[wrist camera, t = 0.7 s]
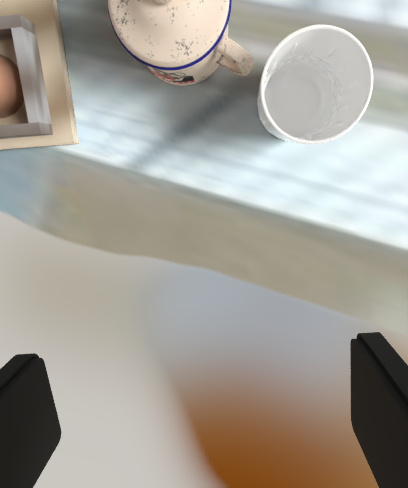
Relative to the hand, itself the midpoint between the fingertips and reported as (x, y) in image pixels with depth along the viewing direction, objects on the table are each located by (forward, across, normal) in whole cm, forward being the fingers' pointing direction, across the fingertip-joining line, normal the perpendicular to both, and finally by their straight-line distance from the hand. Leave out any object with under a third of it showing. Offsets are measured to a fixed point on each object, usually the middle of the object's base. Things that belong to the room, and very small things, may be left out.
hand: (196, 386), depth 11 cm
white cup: (+29, -8, -10) cm, 32 cm away
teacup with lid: (+29, +1, -17) cm, 33 cm away
